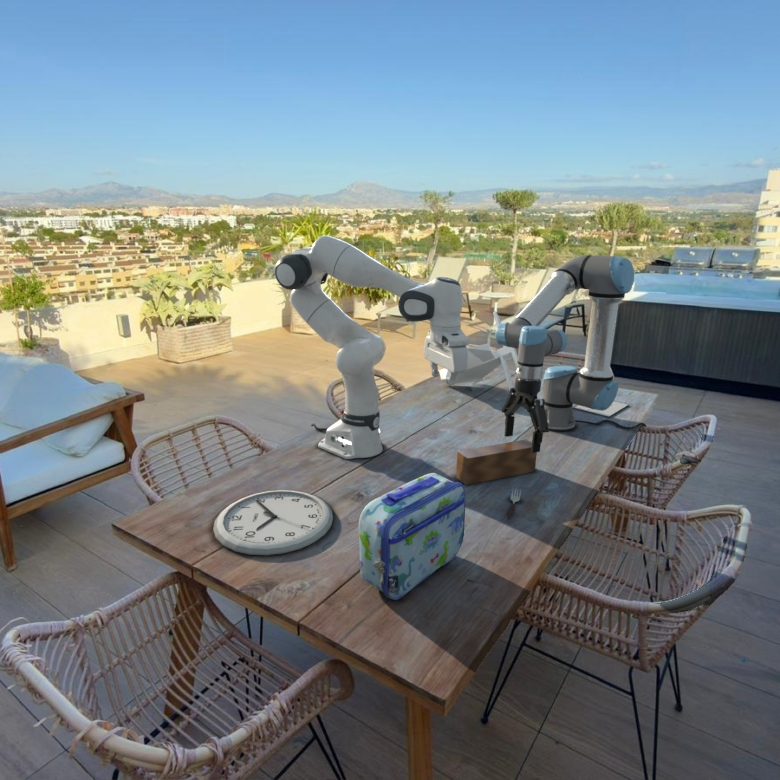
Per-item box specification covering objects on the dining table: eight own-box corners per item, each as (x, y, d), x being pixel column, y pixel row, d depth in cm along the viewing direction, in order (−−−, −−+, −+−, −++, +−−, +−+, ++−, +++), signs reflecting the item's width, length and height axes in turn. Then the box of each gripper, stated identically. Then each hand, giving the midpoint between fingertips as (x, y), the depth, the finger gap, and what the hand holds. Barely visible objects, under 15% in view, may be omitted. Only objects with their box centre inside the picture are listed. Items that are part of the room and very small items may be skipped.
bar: (523, 464, 170) (526, 439, 167) (534, 471, 165) (537, 446, 162) (455, 476, 160) (457, 451, 158) (465, 485, 155) (467, 458, 153)
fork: (503, 520, 136) (504, 514, 136) (511, 493, 151) (512, 486, 150) (513, 522, 136) (514, 515, 135) (521, 494, 150) (521, 488, 149)
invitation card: (608, 416, 214) (573, 407, 224) (608, 416, 214) (573, 408, 224) (628, 404, 229) (594, 396, 238) (628, 405, 229) (594, 397, 238)
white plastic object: (461, 429, 252) (437, 405, 227) (444, 352, 274) (420, 323, 250) (535, 404, 240) (518, 377, 215) (510, 326, 262) (492, 293, 237)
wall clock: (331, 546, 121) (198, 551, 119) (331, 552, 122) (199, 557, 119) (333, 485, 150) (227, 488, 147) (334, 490, 150) (227, 493, 148)
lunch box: (387, 613, 103) (389, 519, 97) (352, 587, 110) (351, 498, 104) (468, 558, 121) (474, 476, 114) (433, 538, 128) (436, 460, 122)
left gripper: (419, 328, 160) (417, 372, 164) (452, 342, 142) (450, 390, 146) (437, 327, 162) (435, 370, 166) (472, 340, 144) (469, 388, 148)
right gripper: (494, 368, 166) (488, 431, 173) (545, 390, 145) (537, 460, 151) (513, 367, 169) (507, 428, 175) (567, 388, 147) (557, 457, 154)
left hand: (442, 380), depth 156 cm, fingers open, 8 cm apart
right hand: (521, 443), depth 163 cm, fingers open, 13 cm apart
